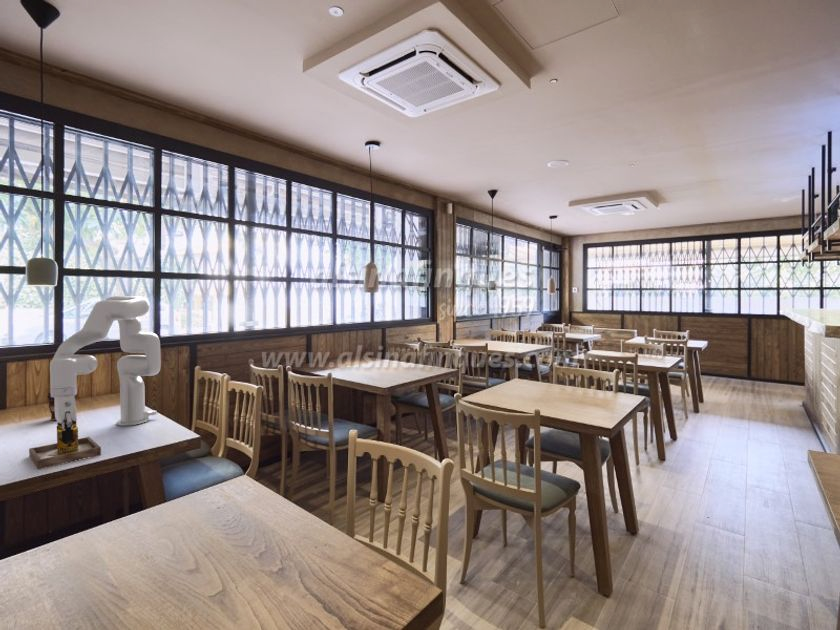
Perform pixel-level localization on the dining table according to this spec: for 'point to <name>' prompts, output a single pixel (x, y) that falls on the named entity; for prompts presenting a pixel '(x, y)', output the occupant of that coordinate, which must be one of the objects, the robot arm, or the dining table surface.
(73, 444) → the condiment
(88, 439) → the tray
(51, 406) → the coffee cup
